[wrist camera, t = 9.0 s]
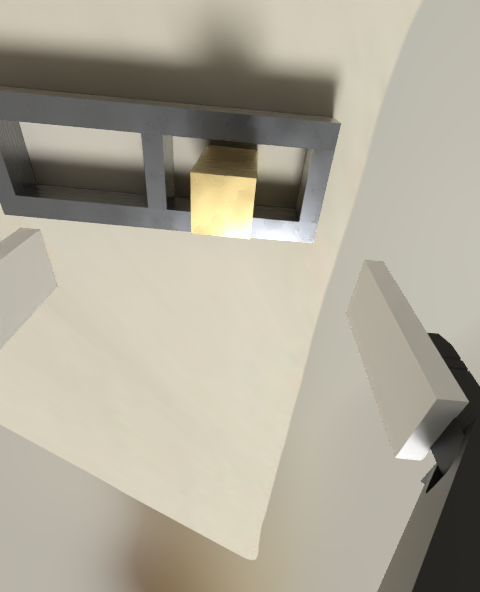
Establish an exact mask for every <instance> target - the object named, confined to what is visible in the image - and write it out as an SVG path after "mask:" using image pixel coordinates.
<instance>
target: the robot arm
mask: <svg viewBox="0 0 480 592" xmlns="http://www.w3.org/2000/svg"><path fill="white" fill-rule="evenodd" d="M57 286H58V285H57V282H56V279H55V276H54V273H53V269H52V266H51V263H50V260H49V257H48V254H47V250H46V247H45V244H44V241H43V238H42V234H41V231H40V230H39V229H29V228H20V229H19V230H17V231H16V232H14V233H13V234H11V235H10V236H8V237H7V238H6V239H4V240H3V241H1V242H0V349H1V348H2V347H3V346H4V345H5V344H6V342H7V341H8V340H9V339H10V338H11V337H12V336H13V335H14V334H15V333H16V331H17V330H18V329H19V328H20V327H21V326H22V325H23V324H24V323H25V321H26V320H27V319H28V318H29V317H30V316H31V315H32V314H33V313H34V312H35V310H36V309H37V308H38V307H39V306H40V305H41V304H42V303H43V302H44V300H45V299H46V298H47V297H48V296H49V295H50V294H51V293H52V292H53V290H54V289H55V288H56V287H57ZM346 314H347V317H348V319H349V323H350V326H351V328H352V331H353V334H354V337H355V340H356V343H357V346H358V349H359V352H360V355H361V358H362V361H363V364H364V367H365V370H366V373H367V376H368V379H369V382H370V385H371V388H372V390H373V393H374V397H375V400H376V403H377V405H378V408H379V411H380V414H381V417H382V420H383V423H384V426H385V429H386V432H387V435H388V438H389V441H390V443H391V447H392V450H393V453H394V456H395V458H402V459H413V460H422V459H423V458H424V457H425V456H426V454H427V453H428V452H429V451H430V449H431V450H432V453H433V455H434V457H435V459H436V462H437V463H436V464H435V465H434V466H433V468H432V469H431V470H430V471H429V472H428V473H427V474H426V476H425V477H424V478H423V479H422V480H421V482H423V483H424V484H425V485H424V487H423V490H422V492H421V494H420V496H419V499H418V501H417V503H416V505H415V508H414V510H413V512H412V515H411V517H410V519H409V521H408V524H407V526H406V528H405V530H404V533H403V535H402V537H401V540H400V542H399V544H398V546H397V549H396V551H395V553H394V555H393V558H392V560H391V562H390V564H389V567H388V569H387V571H386V574H385V576H384V578H383V581H382V583H381V585H380V587H379V589H378V592H480V386H479V385H478V383H477V382H476V380H475V379H474V377H473V376H472V374H471V373H470V371H467V367H466V366H465V364H464V363H463V361H461V360H460V357H459V355H458V354H457V352H456V351H455V349H454V348H453V346H452V345H451V344H450V343H448V342H447V341H446V340H445V339H444V338H443V337H442V336H440V335H439V334H435V333H427V332H426V331H425V329H424V327H423V326H422V324H421V322H420V321H419V319H418V318H417V316H416V314H415V313H414V311H413V309H412V308H411V306H410V304H409V303H408V301H407V299H406V298H405V296H404V294H403V293H402V291H401V290H400V288H399V286H398V285H397V283H396V281H395V280H394V278H393V276H392V275H391V273H390V271H389V270H388V268H387V267H386V265H385V263H384V262H383V261H372V260H364V263H363V266H362V269H361V271H360V274H359V277H358V280H357V283H356V286H355V289H354V291H353V295H352V297H351V300H350V303H349V306H348V309H347V312H346Z"/></svg>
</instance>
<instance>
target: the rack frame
mask: <svg viewBox="0 0 480 592" xmlns="http://www.w3.org/2000/svg"><path fill="white" fill-rule="evenodd" d="M18 121H20V122H31V123H42V124H52V125H63V126H73V127H84V128H95V129H105V130H116V131H127V132H137V133H141V136H142V146H143V157H144V168H145V178H146V189H147V195H146V194H135V193H125V192H114V191H103V190H92V189H82V188H71V187H60V186H50V185H39V184H36V181H35V177H34V174H33V171H32V167H31V164H30V160H29V157H28V153H27V150H26V146H25V143H24V140H23V136H22V133H21V129H20V126H19V122H18ZM340 125H341V123H340V122H338V121H337V120H336V119H334V118H333V117H323V116H313V115H302V114H292V113H281V112H270V111H260V110H249V109H239V108H228V107H217V106H207V105H196V104H186V103H175V102H164V101H154V100H143V99H133V98H122V97H111V96H101V95H90V94H80V93H69V92H58V91H48V90H37V89H27V88H16V87H5V86H0V203H1V206H2V209H3V211H4V214H5V215H15V216H26V217H37V218H47V219H58V220H69V221H79V222H90V223H101V224H112V225H122V226H133V227H144V228H154V229H165V230H176V231H187V232H191V199H189V198H178V197H175V190H174V167H173V144H172V136H180V137H190V138H201V139H212V140H222V141H233V142H243V143H254V144H265V145H275V146H286V147H297V148H307V151H306V157H305V162H304V167H303V173H302V178H301V184H300V189H299V195H298V200H297V205H296V209H295V208H285V207H274V206H263V205H254V207H253V217H252V226H251V236H250V237H251V238H261V239H272V240H283V241H294V242H304V243H313V242H314V237H315V233H316V229H317V224H318V220H319V216H320V211H321V207H322V203H323V199H324V194H325V190H326V186H327V181H328V177H329V173H330V168H331V164H332V160H333V155H334V151H335V147H336V143H337V138H338V134H339V130H340Z"/></svg>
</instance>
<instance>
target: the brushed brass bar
mask: <svg viewBox="0 0 480 592" xmlns="http://www.w3.org/2000/svg"><path fill="white" fill-rule="evenodd" d="M257 153H258V150H255V149H245V148H234V147H224V146H213V145H208V146H207V147H206V149H205V150H204V152H203V154H202V155H201V157H200V158H199V160H198V161H197V163H196V164H195V166H194V167H193V169H192V171H191V172H190V180H191V233H192V234H202V235H213V236H223V237H234V238H244V239H250V236H251V226H252V217H253V207H254V198H255V189H256V179H257Z"/></svg>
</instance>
